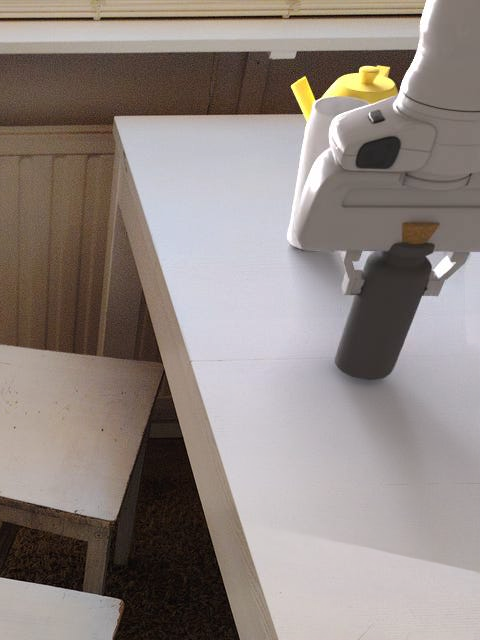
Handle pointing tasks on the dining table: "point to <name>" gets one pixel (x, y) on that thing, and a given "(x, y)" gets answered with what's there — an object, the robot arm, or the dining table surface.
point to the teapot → (350, 88)
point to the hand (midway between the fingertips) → (388, 292)
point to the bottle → (386, 304)
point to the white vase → (318, 143)
